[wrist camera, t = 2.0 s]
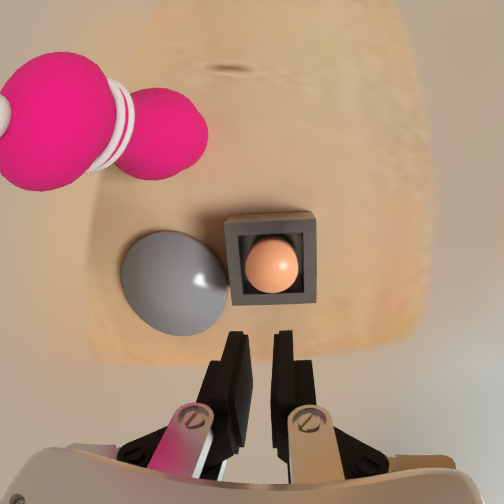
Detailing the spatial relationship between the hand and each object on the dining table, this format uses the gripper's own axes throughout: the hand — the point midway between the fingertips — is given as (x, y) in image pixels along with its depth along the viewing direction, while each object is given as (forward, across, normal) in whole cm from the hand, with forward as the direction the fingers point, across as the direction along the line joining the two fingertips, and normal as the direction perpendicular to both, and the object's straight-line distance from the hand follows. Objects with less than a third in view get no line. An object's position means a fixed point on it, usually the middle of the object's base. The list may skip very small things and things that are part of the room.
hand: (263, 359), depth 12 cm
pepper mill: (+15, +8, -11) cm, 20 cm away
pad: (+15, +10, +3) cm, 18 cm away
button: (+13, 0, 0) cm, 13 cm away
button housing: (+15, 0, 0) cm, 15 cm away
